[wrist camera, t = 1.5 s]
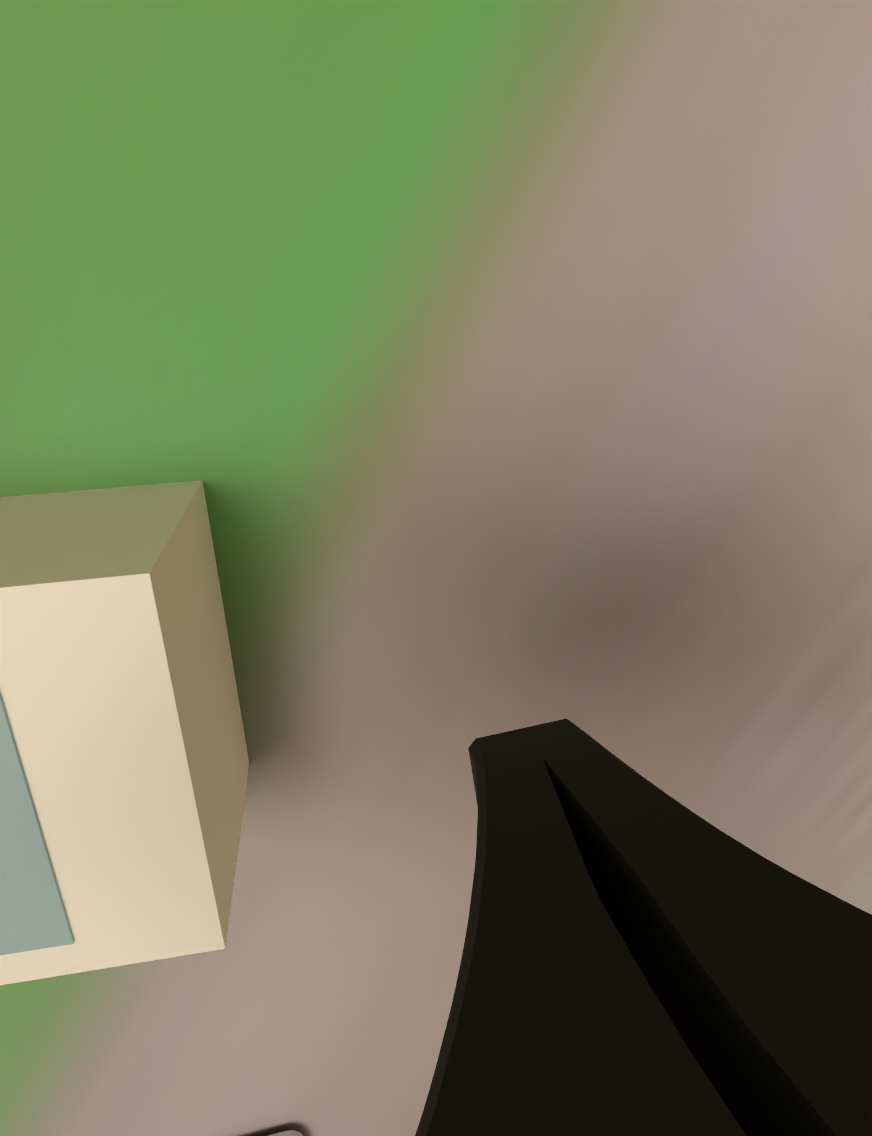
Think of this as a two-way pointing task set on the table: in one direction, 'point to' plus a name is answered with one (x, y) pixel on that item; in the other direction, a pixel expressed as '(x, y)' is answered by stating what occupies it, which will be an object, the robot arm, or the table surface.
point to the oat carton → (114, 732)
